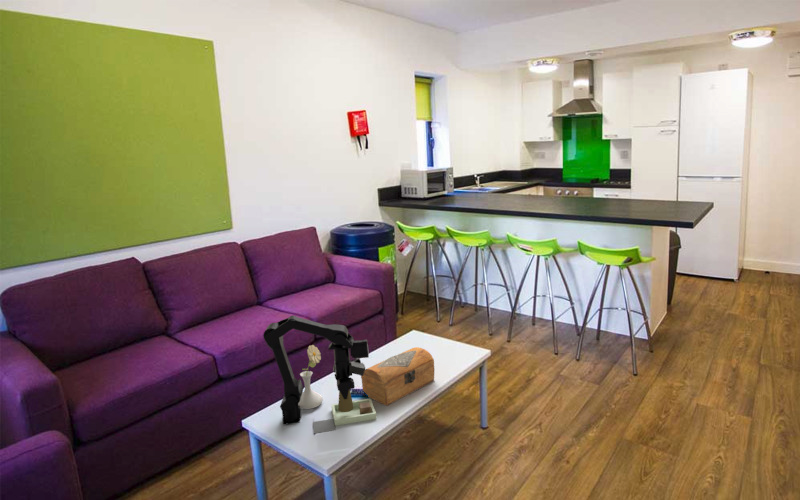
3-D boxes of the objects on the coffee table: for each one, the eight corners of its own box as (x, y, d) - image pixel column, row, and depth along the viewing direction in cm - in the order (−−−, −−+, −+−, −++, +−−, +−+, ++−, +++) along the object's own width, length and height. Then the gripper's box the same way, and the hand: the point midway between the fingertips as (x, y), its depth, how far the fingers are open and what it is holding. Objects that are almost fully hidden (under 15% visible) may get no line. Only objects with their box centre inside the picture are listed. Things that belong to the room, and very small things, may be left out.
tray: (334, 426, 191) (334, 420, 190) (331, 410, 202) (331, 404, 202) (376, 419, 194) (376, 413, 194) (371, 404, 206) (370, 398, 205)
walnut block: (361, 417, 195) (360, 408, 195) (359, 412, 199) (359, 403, 198) (371, 416, 196) (370, 406, 195) (369, 410, 200) (369, 401, 199)
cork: (336, 406, 199) (334, 380, 196) (351, 402, 201) (349, 377, 198) (340, 413, 193) (338, 387, 191) (355, 410, 195) (353, 383, 193)
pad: (314, 434, 186) (314, 433, 186) (312, 422, 194) (312, 421, 194) (335, 430, 188) (335, 429, 188) (333, 419, 196) (333, 418, 196)
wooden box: (387, 408, 202) (385, 376, 199) (361, 394, 214) (359, 364, 211) (437, 381, 222) (436, 352, 219) (411, 370, 234) (410, 342, 231)
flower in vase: (307, 415, 200) (301, 356, 194) (289, 406, 207) (283, 349, 202) (331, 401, 209) (327, 345, 204) (314, 393, 217) (309, 339, 211)
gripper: (366, 365, 185) (369, 404, 189) (359, 346, 203) (361, 382, 206) (336, 370, 183) (339, 409, 186) (331, 350, 201) (334, 386, 204)
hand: (344, 395), depth 196 cm, fingers closed on cork, 5 cm apart
